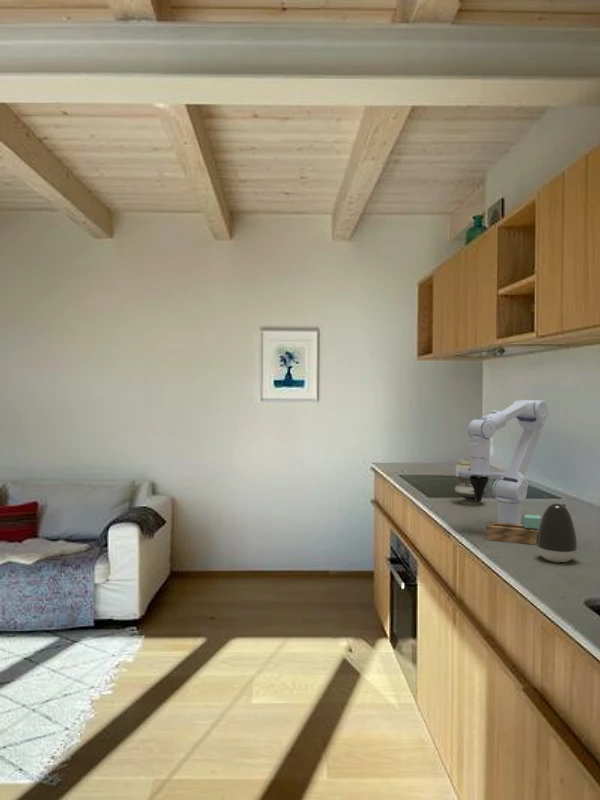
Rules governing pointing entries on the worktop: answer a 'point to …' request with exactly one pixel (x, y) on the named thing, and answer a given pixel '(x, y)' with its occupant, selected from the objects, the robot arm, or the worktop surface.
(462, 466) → the apothecary jar
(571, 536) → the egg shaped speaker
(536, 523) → the block
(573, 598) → the worktop surface
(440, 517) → the worktop surface
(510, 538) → the slotted wooden block
